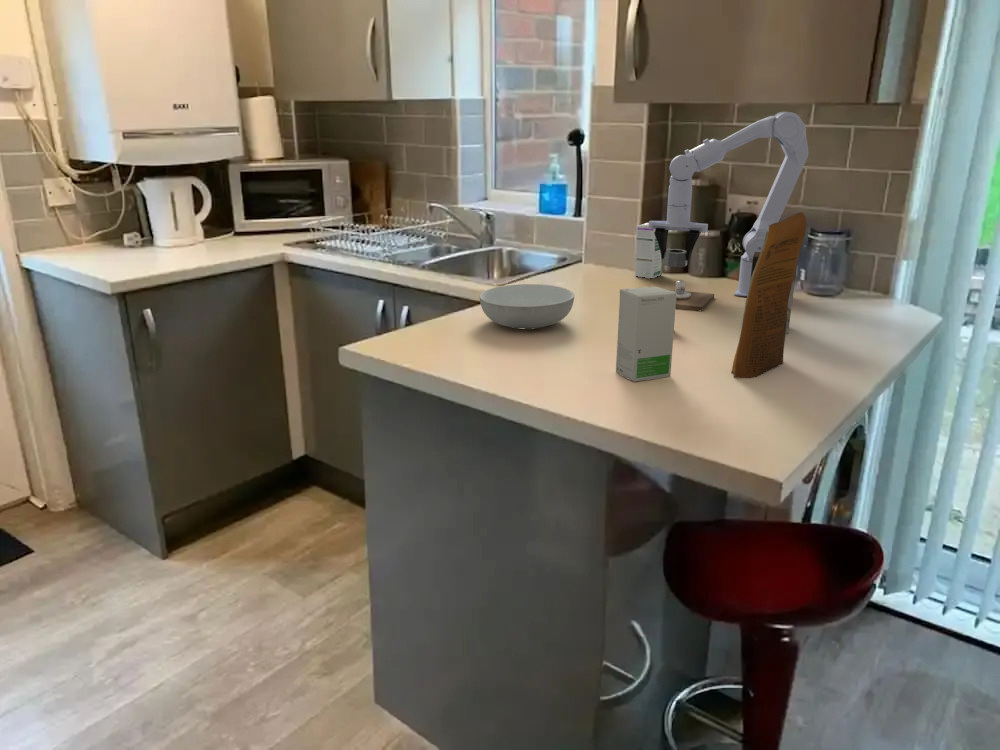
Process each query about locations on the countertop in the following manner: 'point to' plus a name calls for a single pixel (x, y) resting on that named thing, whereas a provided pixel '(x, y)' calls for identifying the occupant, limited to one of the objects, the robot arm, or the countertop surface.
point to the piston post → (681, 291)
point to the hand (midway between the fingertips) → (675, 259)
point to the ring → (675, 258)
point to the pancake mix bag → (769, 299)
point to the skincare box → (645, 333)
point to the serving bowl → (527, 305)
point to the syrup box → (647, 253)
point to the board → (695, 301)
